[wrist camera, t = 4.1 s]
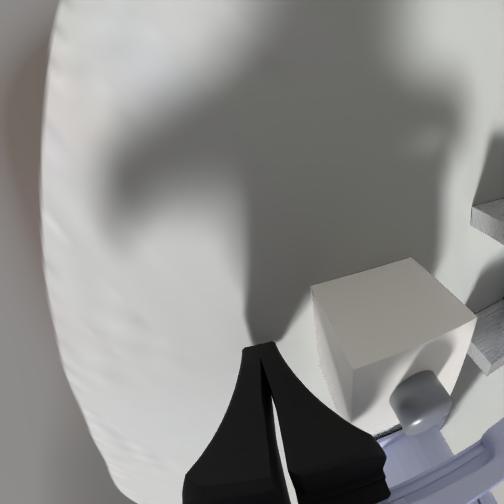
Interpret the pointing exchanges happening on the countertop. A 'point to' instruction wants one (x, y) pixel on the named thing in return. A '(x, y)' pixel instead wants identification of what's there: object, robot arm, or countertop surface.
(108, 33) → the countertop surface
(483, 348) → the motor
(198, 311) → the countertop surface
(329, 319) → the white block
